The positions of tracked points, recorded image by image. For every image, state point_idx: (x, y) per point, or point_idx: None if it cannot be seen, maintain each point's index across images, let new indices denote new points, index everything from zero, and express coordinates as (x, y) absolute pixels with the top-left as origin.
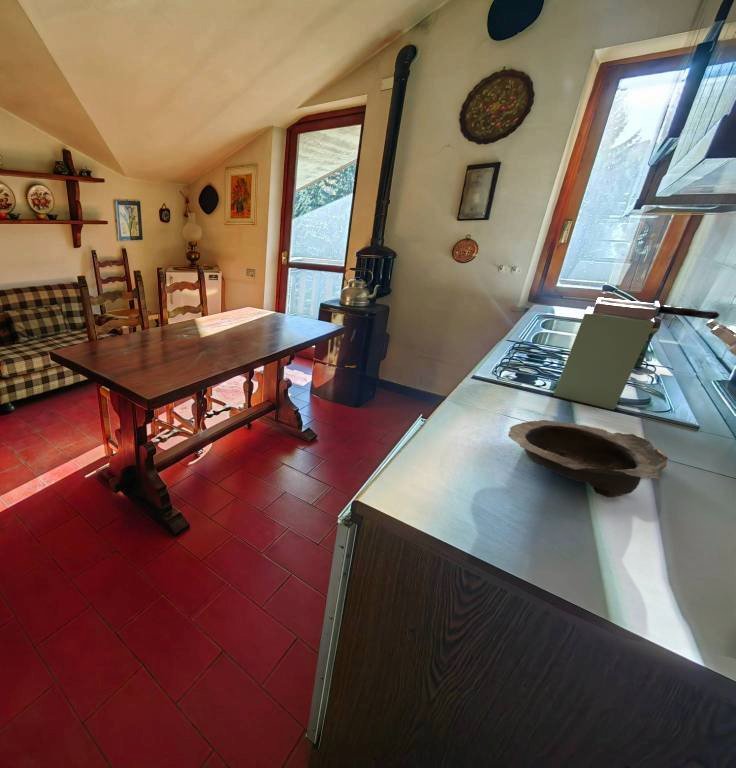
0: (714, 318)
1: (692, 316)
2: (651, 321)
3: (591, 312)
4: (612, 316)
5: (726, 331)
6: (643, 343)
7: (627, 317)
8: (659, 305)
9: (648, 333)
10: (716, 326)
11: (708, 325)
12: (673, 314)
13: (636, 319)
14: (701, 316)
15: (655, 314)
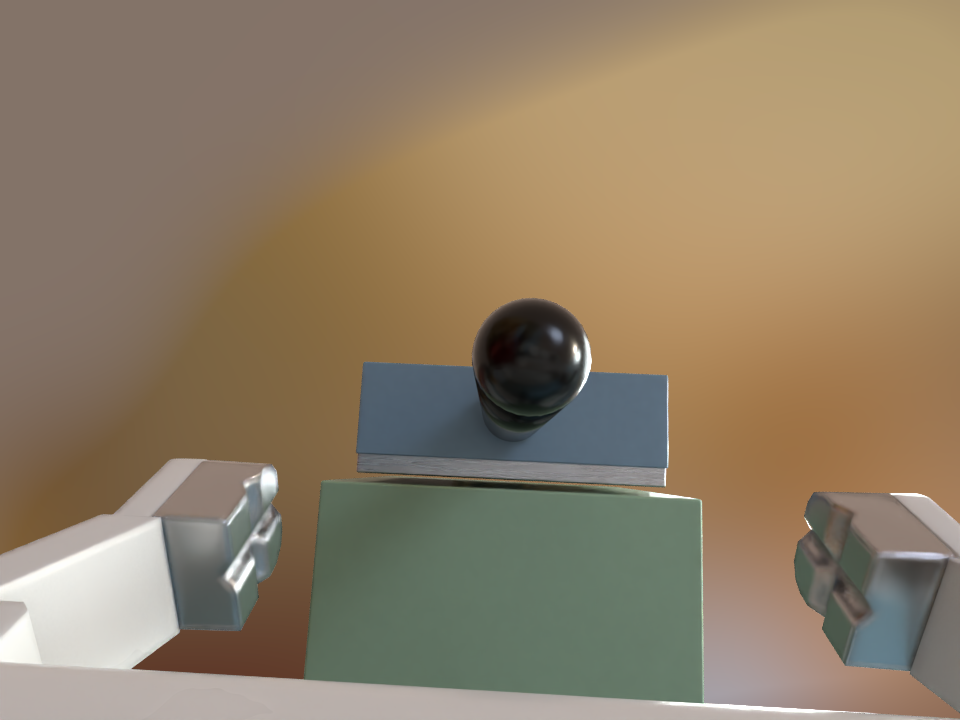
0: (492, 391)
1: (493, 418)
2: (335, 480)
3: (436, 478)
4: (378, 477)
5: (116, 515)
6: (304, 676)
7: (402, 480)
8: (419, 364)
9: (315, 582)
10: (869, 603)
11: (806, 581)
12: (496, 430)
13: (359, 479)
14: (480, 396)
15: (359, 426)
